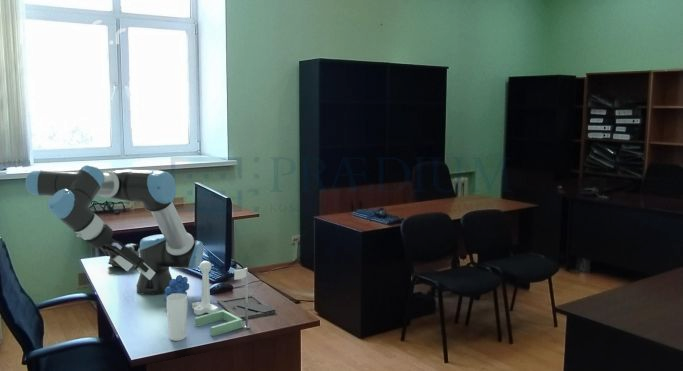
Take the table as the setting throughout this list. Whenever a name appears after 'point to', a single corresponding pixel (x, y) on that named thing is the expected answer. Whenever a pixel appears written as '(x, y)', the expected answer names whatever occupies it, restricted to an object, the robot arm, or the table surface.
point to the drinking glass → (177, 316)
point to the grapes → (177, 286)
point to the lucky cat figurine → (133, 248)
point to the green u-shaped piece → (231, 324)
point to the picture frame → (254, 306)
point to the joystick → (204, 292)
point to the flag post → (244, 274)
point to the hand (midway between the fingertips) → (140, 272)
